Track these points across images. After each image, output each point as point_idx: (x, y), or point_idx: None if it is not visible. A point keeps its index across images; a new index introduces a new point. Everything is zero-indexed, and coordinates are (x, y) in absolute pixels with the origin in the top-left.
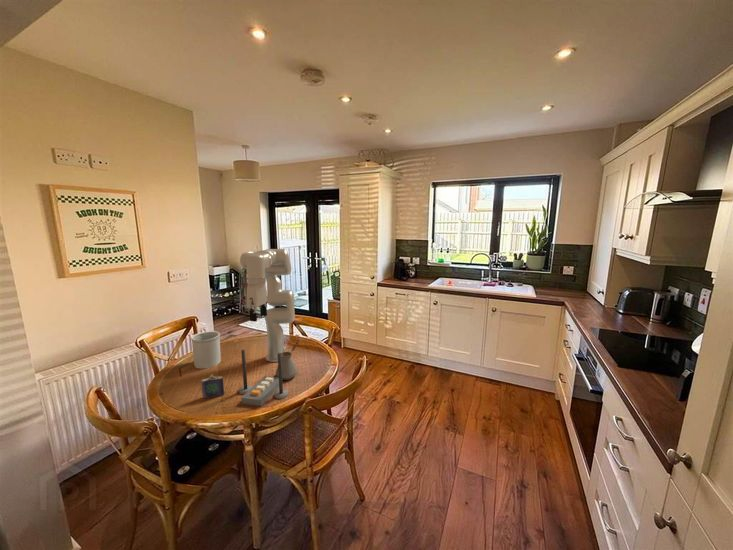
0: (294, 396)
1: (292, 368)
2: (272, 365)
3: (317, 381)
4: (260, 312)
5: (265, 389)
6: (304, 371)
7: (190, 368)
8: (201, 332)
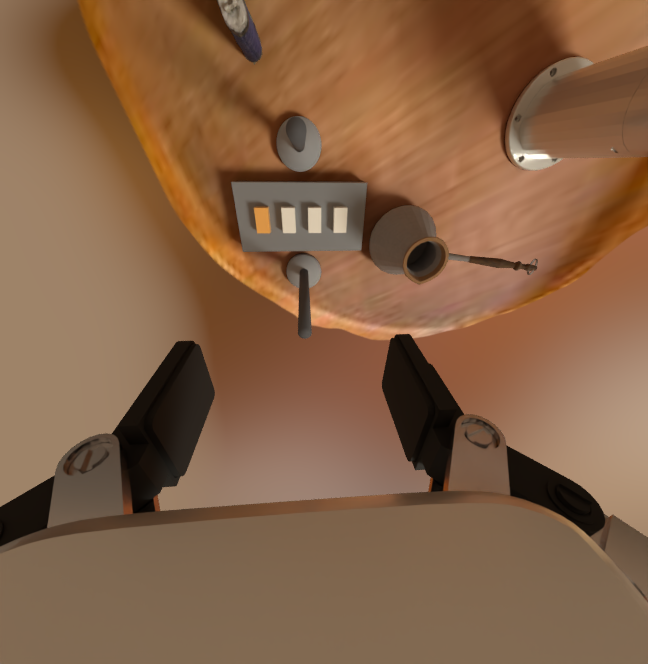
0: None
1: (395, 272)
2: (478, 142)
3: (376, 323)
4: (402, 362)
5: (292, 233)
6: None
7: None
8: None
